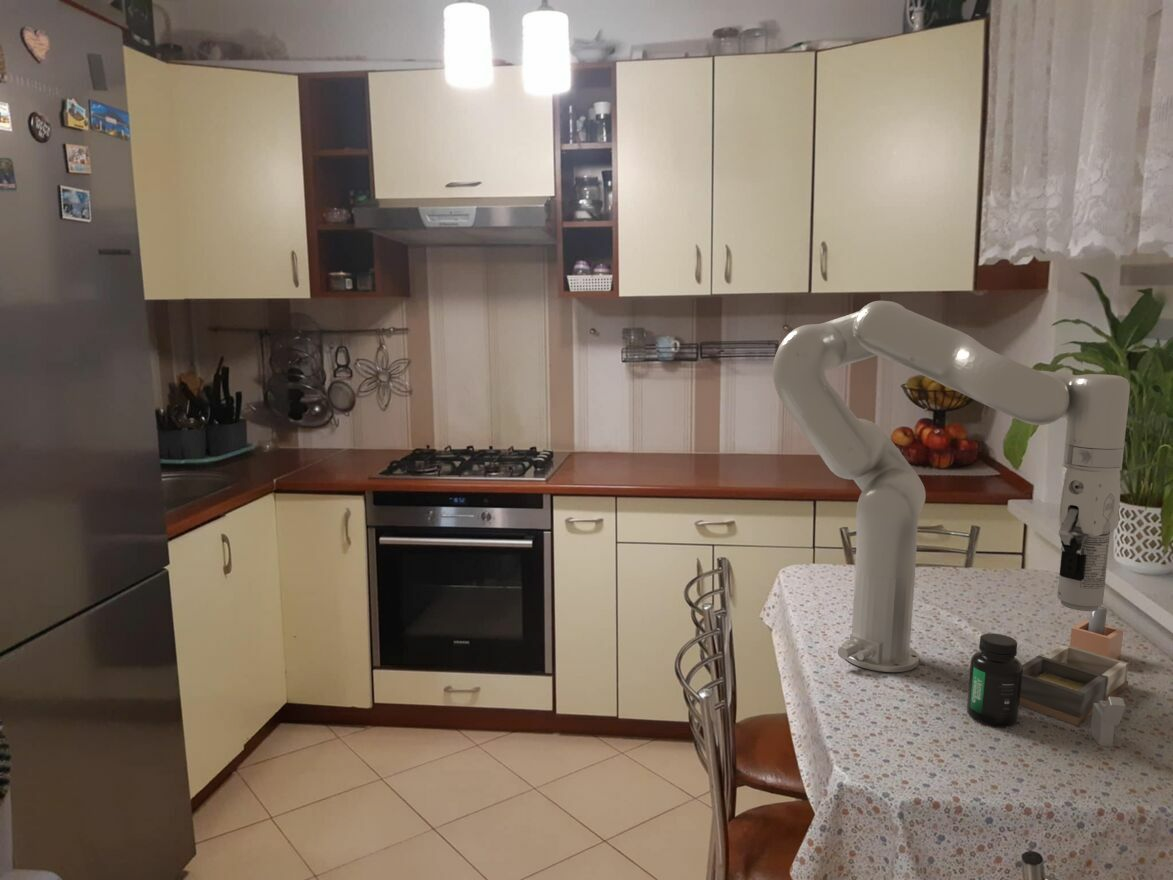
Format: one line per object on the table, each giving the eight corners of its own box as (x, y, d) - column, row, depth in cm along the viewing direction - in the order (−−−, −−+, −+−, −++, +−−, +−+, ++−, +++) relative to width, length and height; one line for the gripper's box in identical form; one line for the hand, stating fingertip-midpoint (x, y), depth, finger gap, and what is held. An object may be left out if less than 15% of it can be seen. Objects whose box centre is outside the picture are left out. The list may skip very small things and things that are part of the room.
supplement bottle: (973, 725, 120) (980, 646, 118) (960, 704, 127) (967, 628, 125) (1024, 730, 119) (1032, 650, 117) (1009, 708, 126) (1016, 632, 124)
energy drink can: (1080, 597, 132) (1089, 504, 129) (1112, 610, 126) (1122, 513, 124) (1047, 600, 130) (1056, 506, 128) (1078, 614, 125) (1087, 515, 122)
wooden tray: (1077, 725, 121) (1080, 696, 120) (1006, 700, 128) (1009, 672, 128) (1127, 687, 133) (1130, 660, 132) (1060, 666, 141) (1063, 640, 140)
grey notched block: (1089, 730, 119) (1095, 677, 118) (1103, 732, 119) (1109, 679, 117) (1105, 756, 112) (1111, 700, 111) (1119, 758, 112) (1126, 701, 111)
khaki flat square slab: (1071, 707, 123) (1072, 698, 123) (1025, 691, 128) (1026, 683, 128) (1089, 694, 127) (1090, 686, 127) (1043, 680, 132) (1044, 671, 132)
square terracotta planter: (1107, 666, 141) (1112, 618, 139) (1068, 655, 145) (1073, 608, 144) (1120, 657, 145) (1125, 610, 143) (1082, 646, 149) (1087, 600, 148)
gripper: (1095, 467, 117) (1083, 592, 119) (1144, 455, 127) (1132, 569, 130) (1039, 460, 123) (1029, 578, 125) (1090, 448, 133) (1080, 558, 136)
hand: (1081, 573), depth 127 cm, fingers closed on energy drink can, 6 cm apart
